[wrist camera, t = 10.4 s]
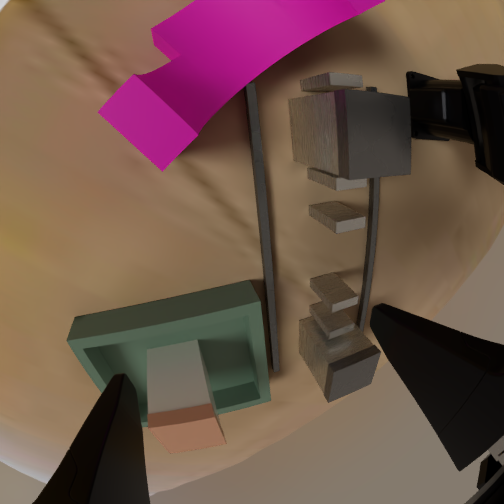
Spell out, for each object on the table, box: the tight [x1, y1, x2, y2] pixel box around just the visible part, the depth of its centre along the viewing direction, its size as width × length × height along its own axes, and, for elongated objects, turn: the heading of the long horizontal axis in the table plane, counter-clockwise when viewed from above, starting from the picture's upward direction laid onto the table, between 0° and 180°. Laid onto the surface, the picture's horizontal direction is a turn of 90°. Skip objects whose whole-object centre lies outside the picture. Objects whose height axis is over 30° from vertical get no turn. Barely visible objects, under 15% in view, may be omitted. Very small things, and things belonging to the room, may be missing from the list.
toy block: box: [98, 0, 385, 172], centre depth 11 cm, size 15×6×8 cm, turn 132°
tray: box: [67, 280, 271, 427], centre depth 22 cm, size 15×13×3 cm
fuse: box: [147, 340, 227, 454], centre depth 20 cm, size 5×5×8 cm
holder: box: [244, 72, 411, 403], centre depth 20 cm, size 11×26×7 cm, turn 6°
